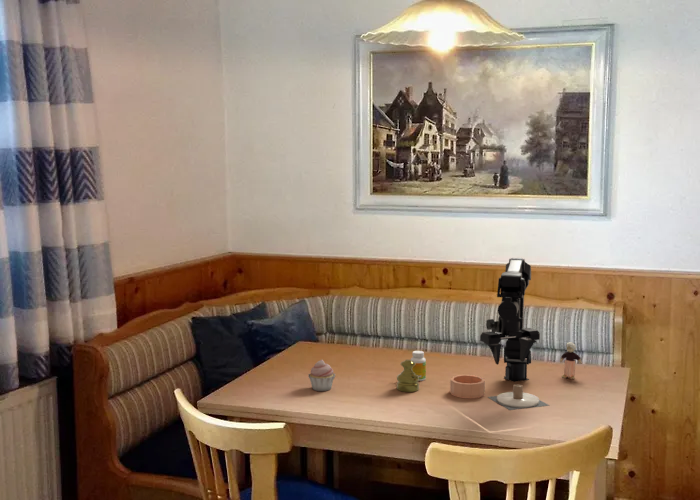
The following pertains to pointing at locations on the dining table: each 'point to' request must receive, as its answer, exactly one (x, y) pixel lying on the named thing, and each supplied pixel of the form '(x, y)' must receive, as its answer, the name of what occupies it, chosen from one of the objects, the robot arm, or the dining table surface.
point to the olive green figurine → (408, 378)
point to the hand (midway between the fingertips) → (509, 362)
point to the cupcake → (321, 376)
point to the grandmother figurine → (570, 361)
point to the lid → (518, 398)
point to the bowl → (467, 386)
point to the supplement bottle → (419, 364)
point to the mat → (517, 407)
